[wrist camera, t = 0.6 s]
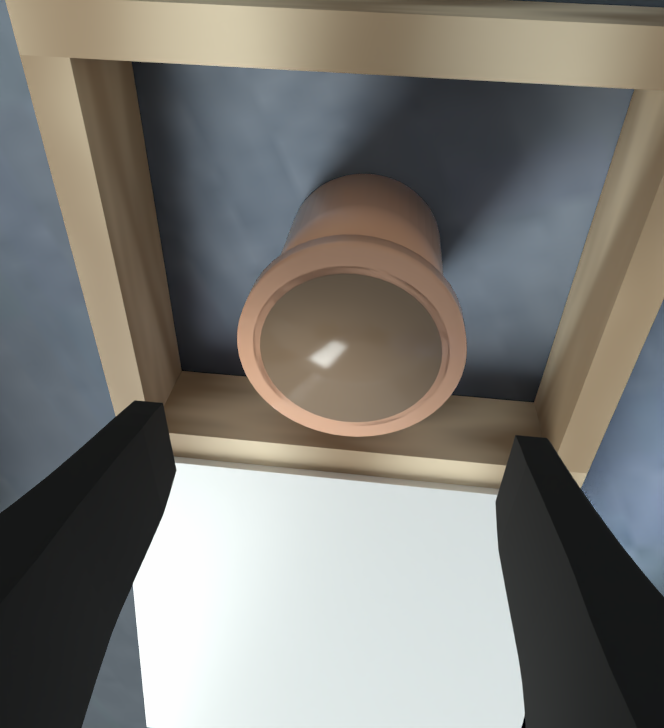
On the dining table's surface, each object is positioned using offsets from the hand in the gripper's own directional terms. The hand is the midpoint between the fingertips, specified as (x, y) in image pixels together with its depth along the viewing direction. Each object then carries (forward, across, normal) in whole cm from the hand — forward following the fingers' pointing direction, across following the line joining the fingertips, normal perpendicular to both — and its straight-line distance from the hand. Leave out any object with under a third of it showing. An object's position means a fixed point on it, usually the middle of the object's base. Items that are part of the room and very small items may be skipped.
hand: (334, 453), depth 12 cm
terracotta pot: (+9, 0, 0) cm, 9 cm away
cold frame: (+9, 0, +7) cm, 12 cm away
